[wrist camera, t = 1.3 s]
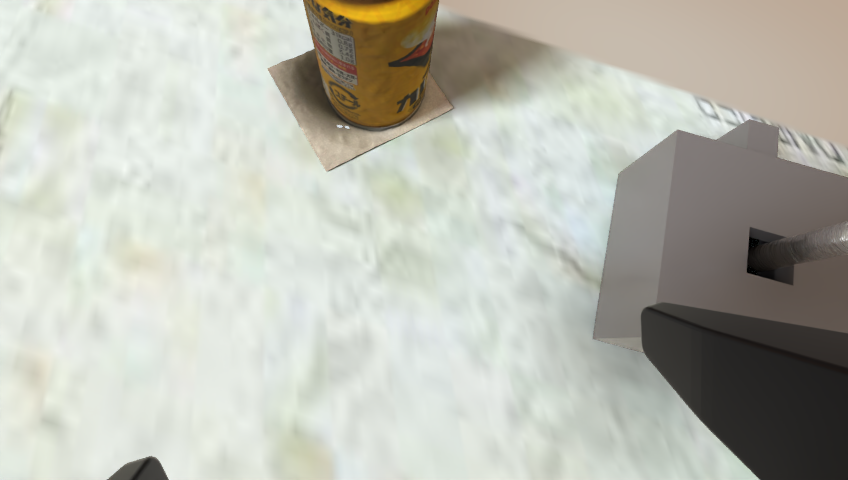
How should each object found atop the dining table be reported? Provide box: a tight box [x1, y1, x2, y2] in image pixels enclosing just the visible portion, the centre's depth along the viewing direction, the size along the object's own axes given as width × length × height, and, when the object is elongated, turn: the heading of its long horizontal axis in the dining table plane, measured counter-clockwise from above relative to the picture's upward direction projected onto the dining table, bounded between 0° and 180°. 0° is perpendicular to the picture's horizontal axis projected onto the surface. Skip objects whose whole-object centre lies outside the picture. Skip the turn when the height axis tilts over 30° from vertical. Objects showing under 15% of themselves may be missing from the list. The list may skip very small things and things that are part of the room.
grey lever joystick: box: [593, 119, 848, 353], centre depth 23 cm, size 12×10×6 cm
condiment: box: [268, 0, 453, 171], centre depth 20 cm, size 7×8×12 cm
